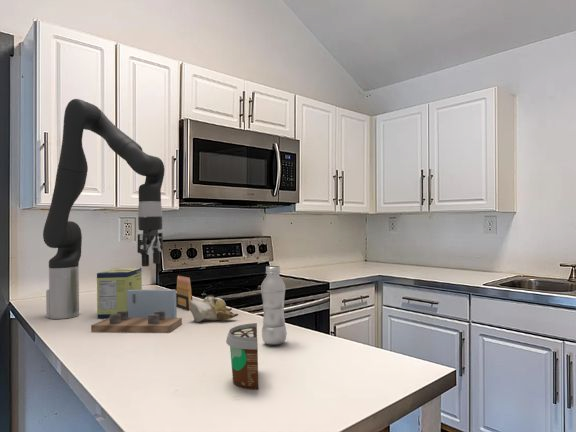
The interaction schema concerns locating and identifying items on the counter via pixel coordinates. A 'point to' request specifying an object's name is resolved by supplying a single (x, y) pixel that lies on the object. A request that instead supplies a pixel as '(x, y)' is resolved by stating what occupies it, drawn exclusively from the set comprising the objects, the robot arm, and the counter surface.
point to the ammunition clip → (183, 293)
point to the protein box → (116, 289)
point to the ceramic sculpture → (210, 309)
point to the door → (151, 303)
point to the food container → (244, 355)
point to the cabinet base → (137, 323)
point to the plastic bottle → (273, 307)
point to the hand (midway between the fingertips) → (151, 264)
